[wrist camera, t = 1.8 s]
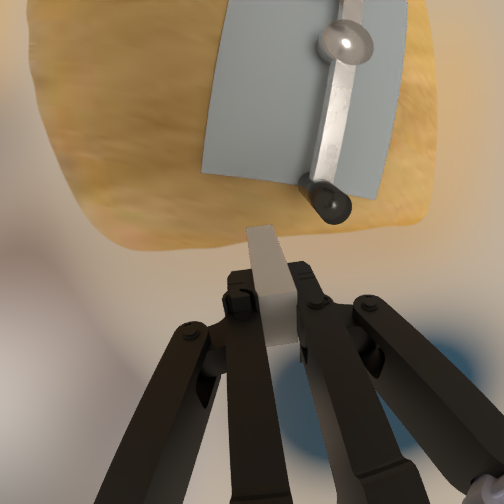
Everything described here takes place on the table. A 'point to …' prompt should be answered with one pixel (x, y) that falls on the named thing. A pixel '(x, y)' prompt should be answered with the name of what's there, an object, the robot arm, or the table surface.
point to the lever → (336, 109)
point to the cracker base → (300, 93)
